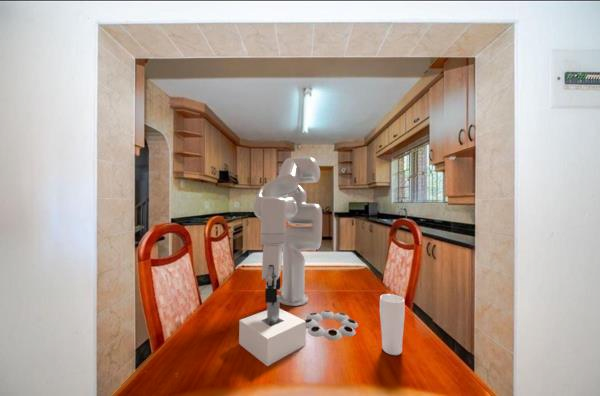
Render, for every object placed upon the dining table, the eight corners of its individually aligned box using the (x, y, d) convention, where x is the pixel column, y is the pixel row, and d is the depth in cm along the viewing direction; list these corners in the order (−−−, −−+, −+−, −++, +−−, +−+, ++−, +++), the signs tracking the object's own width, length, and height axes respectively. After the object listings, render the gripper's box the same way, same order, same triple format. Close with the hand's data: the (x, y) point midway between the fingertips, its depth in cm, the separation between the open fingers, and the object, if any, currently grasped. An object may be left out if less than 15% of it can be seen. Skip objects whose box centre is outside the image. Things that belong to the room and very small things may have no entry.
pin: (263, 335, 74) (265, 295, 74) (273, 331, 77) (274, 292, 77) (271, 340, 71) (272, 298, 72) (280, 336, 74) (282, 295, 74)
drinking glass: (375, 344, 74) (376, 293, 75) (397, 343, 75) (397, 293, 75) (385, 358, 68) (385, 303, 68) (409, 357, 68) (409, 302, 68)
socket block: (239, 343, 74) (239, 320, 74) (276, 327, 84) (276, 306, 84) (267, 366, 64) (267, 338, 64) (305, 344, 74) (305, 321, 74)
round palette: (325, 308, 100) (325, 303, 100) (369, 326, 86) (369, 320, 86) (289, 325, 87) (289, 319, 87) (335, 349, 73) (335, 342, 73)
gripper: (265, 233, 83) (265, 284, 83) (255, 243, 66) (255, 308, 66) (287, 233, 83) (287, 284, 83) (283, 244, 66) (283, 308, 66)
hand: (273, 295), depth 75 cm, fingers open, 9 cm apart
